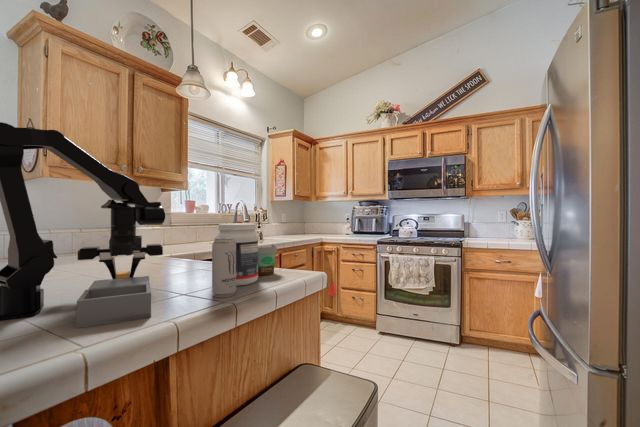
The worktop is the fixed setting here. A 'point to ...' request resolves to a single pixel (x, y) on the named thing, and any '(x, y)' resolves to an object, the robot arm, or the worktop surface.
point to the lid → (120, 281)
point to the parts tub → (113, 305)
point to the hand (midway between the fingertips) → (123, 283)
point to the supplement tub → (243, 250)
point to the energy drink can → (223, 267)
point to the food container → (266, 260)
